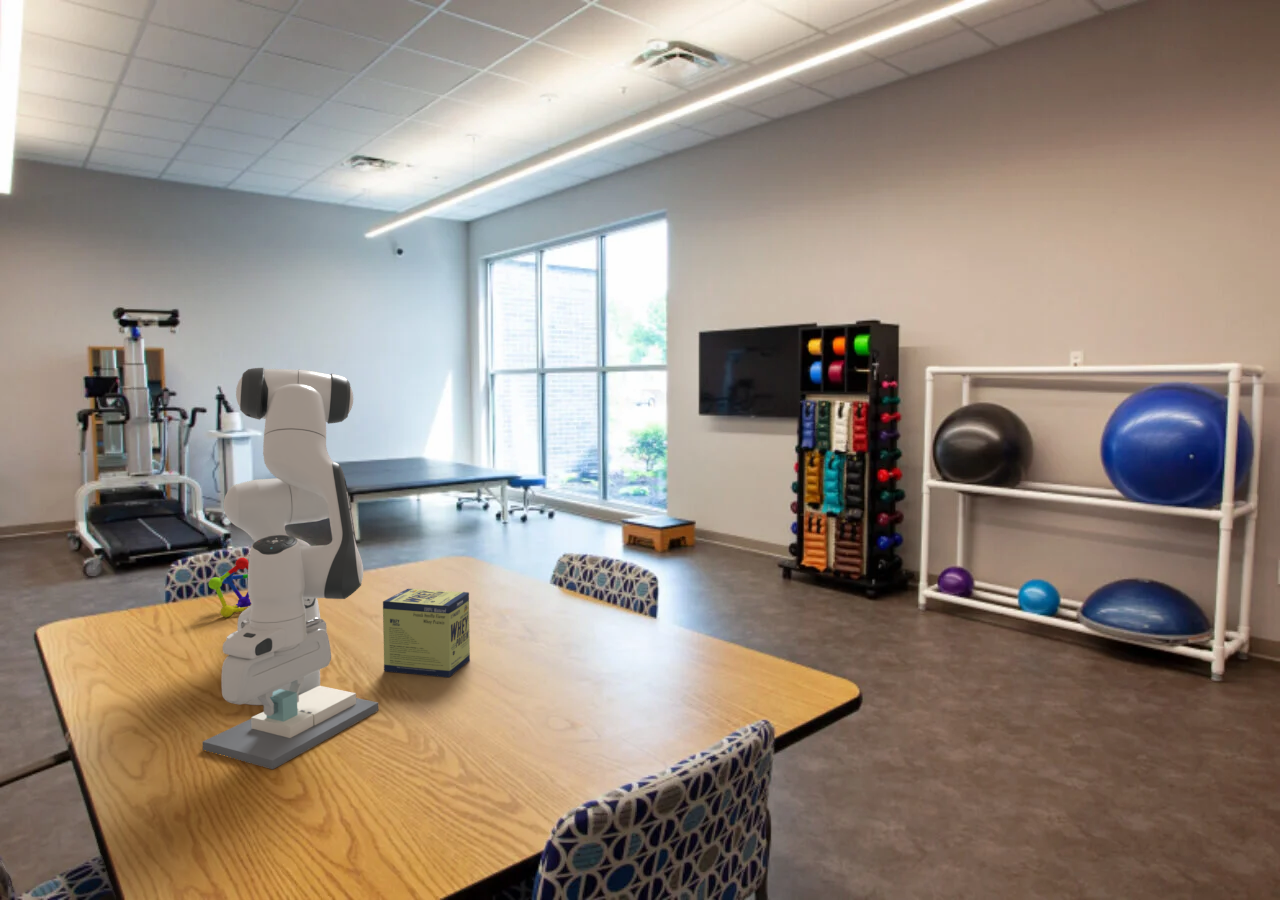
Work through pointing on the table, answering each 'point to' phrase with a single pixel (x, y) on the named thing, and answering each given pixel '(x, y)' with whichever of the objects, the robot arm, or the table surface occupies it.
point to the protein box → (426, 632)
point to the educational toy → (227, 579)
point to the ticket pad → (324, 702)
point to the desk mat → (283, 738)
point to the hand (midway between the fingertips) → (281, 708)
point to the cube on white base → (283, 716)
